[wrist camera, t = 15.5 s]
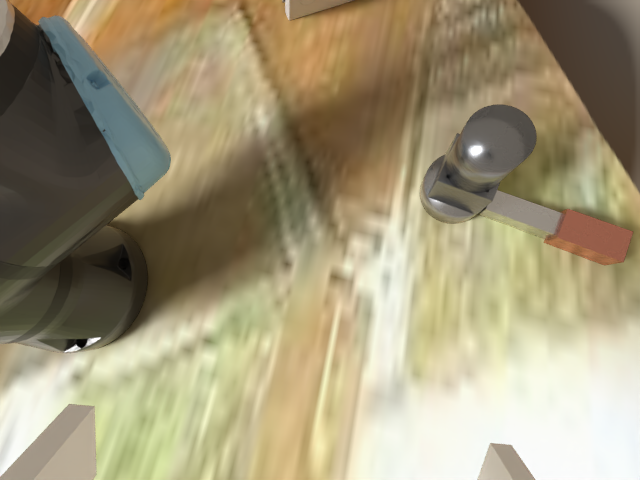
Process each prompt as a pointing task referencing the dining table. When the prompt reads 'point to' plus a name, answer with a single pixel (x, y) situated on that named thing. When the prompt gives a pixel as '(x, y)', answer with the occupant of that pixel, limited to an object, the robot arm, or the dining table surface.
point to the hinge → (308, 6)
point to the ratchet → (539, 223)
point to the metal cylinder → (483, 157)
